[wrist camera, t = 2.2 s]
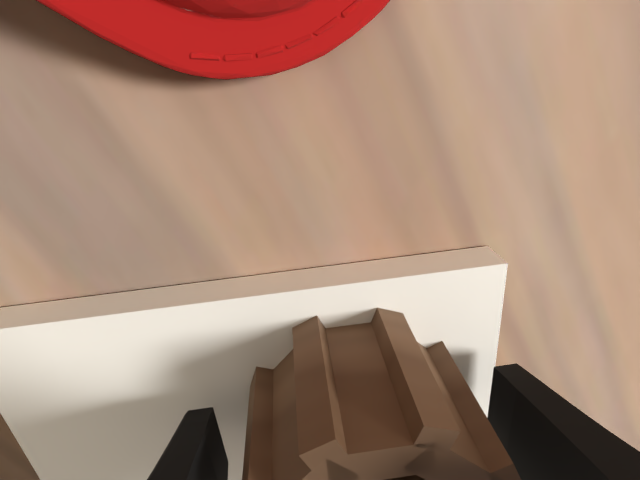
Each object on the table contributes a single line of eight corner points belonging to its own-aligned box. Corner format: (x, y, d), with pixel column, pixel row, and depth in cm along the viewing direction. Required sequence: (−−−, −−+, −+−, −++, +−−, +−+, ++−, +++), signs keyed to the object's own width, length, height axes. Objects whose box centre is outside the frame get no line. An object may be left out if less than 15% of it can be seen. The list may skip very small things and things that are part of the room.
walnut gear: (454, 296, 10) (537, 409, 7) (445, 446, 12) (503, 581, 9) (236, 325, 10) (215, 456, 6) (269, 472, 12) (265, 622, 9)
